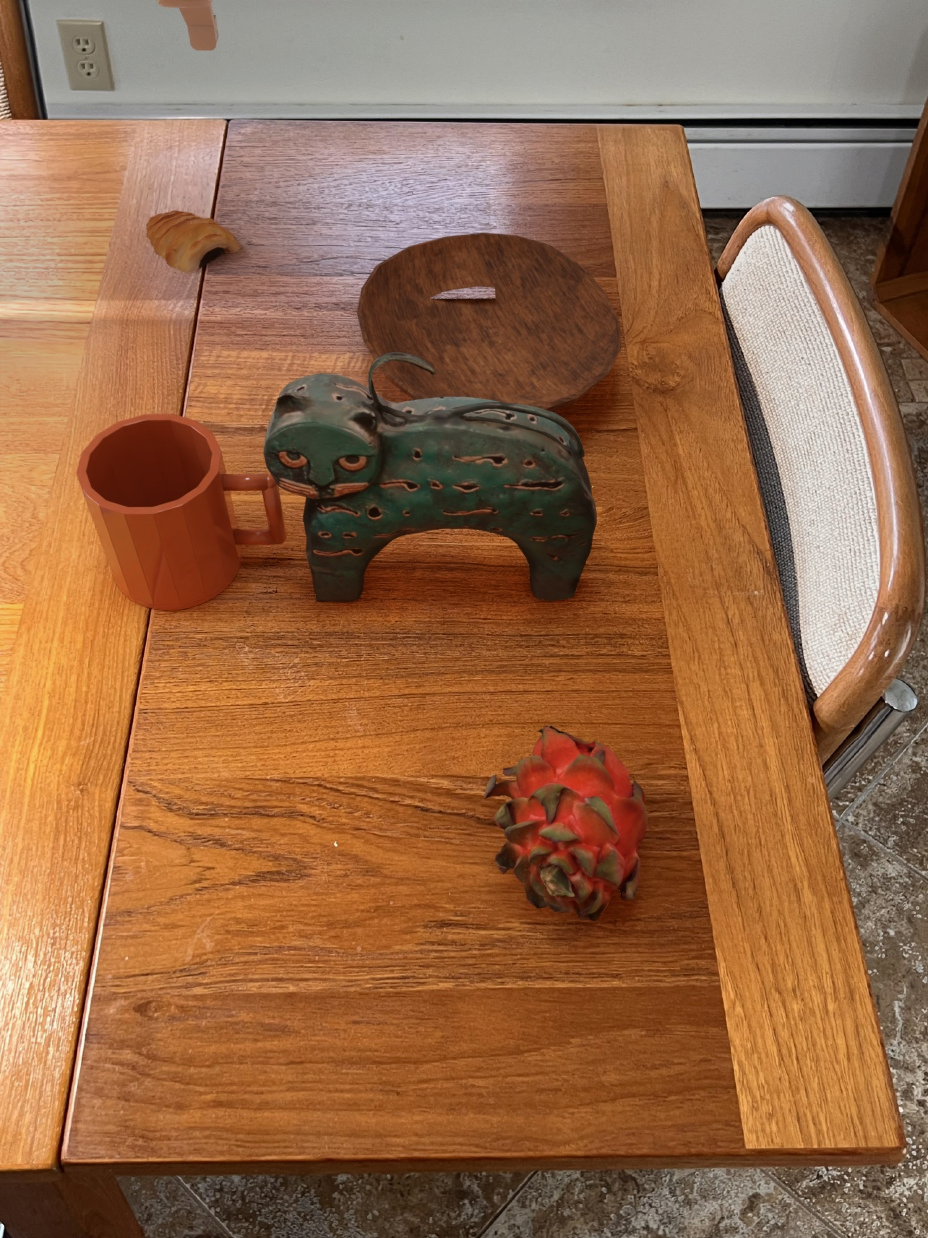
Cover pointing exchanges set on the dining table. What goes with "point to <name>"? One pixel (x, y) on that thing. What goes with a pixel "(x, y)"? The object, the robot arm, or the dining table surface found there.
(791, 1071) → the dining table surface
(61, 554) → the dining table surface
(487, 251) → the bowl
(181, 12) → the robot arm
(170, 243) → the pastry
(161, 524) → the mug
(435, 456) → the ceramic cat
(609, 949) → the dining table surface
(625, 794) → the dragon fruit
